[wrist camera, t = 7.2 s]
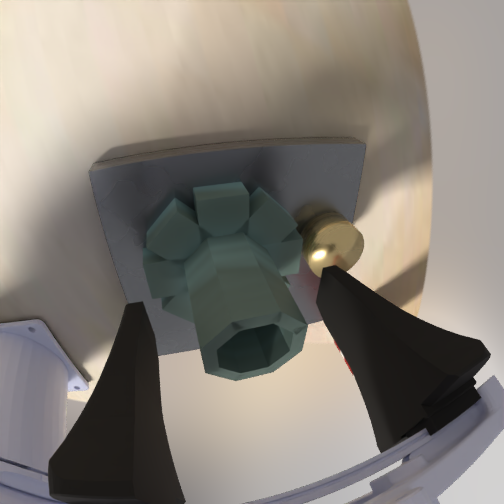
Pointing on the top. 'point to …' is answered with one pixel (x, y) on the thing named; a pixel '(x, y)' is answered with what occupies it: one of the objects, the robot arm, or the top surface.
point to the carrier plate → (252, 176)
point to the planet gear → (230, 277)
